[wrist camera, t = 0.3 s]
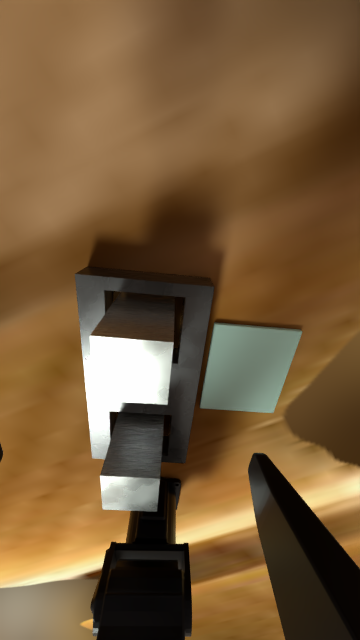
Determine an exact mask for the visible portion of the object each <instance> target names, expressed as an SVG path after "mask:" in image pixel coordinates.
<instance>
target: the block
mask: <svg viewBox="0 0 360 640" xmlns="http://www.w3.org/2000/svg"><path fill="white" fill-rule="evenodd" d="M163 427H164V415H161V414H145V413H130V412H119V413H118V417H117V420H116V423H115V427H114V430H113V434H112V437H111V440H110V444H109V447H108V451H107V454H106V457H105V461H104V464H103V468H102V471H101V474H100V481H101V494H102V507H103V509H107V510H130V511H153V512H157V505H158V495H159V485H160V472H161V457H162V442H163Z"/></svg>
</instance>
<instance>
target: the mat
mask: <svg viewBox="0 0 360 640" xmlns="http://www.w3.org/2000/svg"><path fill="white" fill-rule="evenodd" d="M301 334H302V331H301V330H298V329H286V328H274V327H263V326H251V325H239V324H227V323H215V322H214V327H213V333H212V338H211V344H210V350H209V355H208V361H207V367H206V372H205V378H204V384H203V389H202V395H201V400H200V408H204V409H219V410H234V411H249V412H264V413H273V412H274V409H275V406H276V404H277V401H278V398H279V395H280V393H281V390H282V387H283V384H284V382H285V379H286V376H287V373H288V370H289V368H290V365H291V362H292V359H293V357H294V354H295V351H296V348H297V346H298V343H299V340H300V337H301Z"/></svg>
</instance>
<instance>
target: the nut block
mask: <svg viewBox="0 0 360 640" xmlns="http://www.w3.org/2000/svg"><path fill="white" fill-rule="evenodd" d="M174 314H175V296H165V295H154V294H143V293H131V292H120V294H119V295H118V297H117V298H116V299H115V301H114V302H113V304H112V305H111V306H110V308H109V309H108V311H107V312H106V313H105V315H104V316H103V318H102V319H101V320H100V322H99V323H98V325H97V326H96V327H95V329H94V330H93V332H92V333H91V335H90V348H91V361H92V374H93V388H94V400H104V401H119V402H135V403H150V404H165V405H168V394H169V384H170V374H171V364H172V354H173V344H174Z"/></svg>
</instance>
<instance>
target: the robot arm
mask: <svg viewBox="0 0 360 640" xmlns="http://www.w3.org/2000/svg"><path fill="white" fill-rule="evenodd" d="M2 456H3V450H2V447H1V444H0V462H1V459H2ZM248 474H249V481H250V487H251V493H252V500H253V506H254V512H255V518H256V524H257V528H258V533H259V537H260V541H261V544H262V548H263V552H264V556H265V560H266V564H267V568H268V572H269V576H270V580H271V584H272V588H273V592H274V596H275V600H276V604H277V608H278V612H279V616H280V620H281V624H282V628H283V632H284V636H285V640H360V568H359V567H358V566H357V565H356V563H355V562H354V561H353V560H352V559H351V557H350V556H349V555H348V554H347V553H346V551H345V550H344V549H343V548H342V546H341V545H340V544H339V543H338V542H337V540H336V539H335V538H334V537H333V535H332V534H331V533H330V532H329V531H328V529H327V528H326V527H325V526H324V525H323V523H322V522H321V521H320V520H319V518H318V517H317V516H316V515H315V514H314V512H313V511H312V510H311V509H310V507H309V506H308V505H307V504H306V503H305V501H304V500H303V499H302V498H301V496H300V495H299V494H298V493H297V492H296V490H295V489H294V488H293V487H292V486H291V484H290V483H289V482H288V481H287V479H286V478H285V477H284V476H283V475H282V473H281V472H280V471H279V470H278V468H277V467H276V466H275V465H274V464H273V462H272V461H271V460H270V459H269V457H268V456H267V455H266V454H264V453H254V454H253V456H252V458H251V461H250V464H249V468H248ZM180 487H181V481H180V480H179V479H163V478H160V485H159V495H158V505H157V512H153V511H131V513H130V519H129V525H128V532H127V538H126V543H116V542H111V545H110V548H109V549H107V550H106V554H105V559H104V563H103V568H102V572H101V575H100V578H99V581H98V584H97V587H96V589H95V592H94V595H93V598H92V602H91V611H92V613H93V636H97V640H185V636H191V631H192V597H191V578H190V562H189V546H188V543H184V544H175V543H176V510H177V505H178V499H179V493H180Z"/></svg>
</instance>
